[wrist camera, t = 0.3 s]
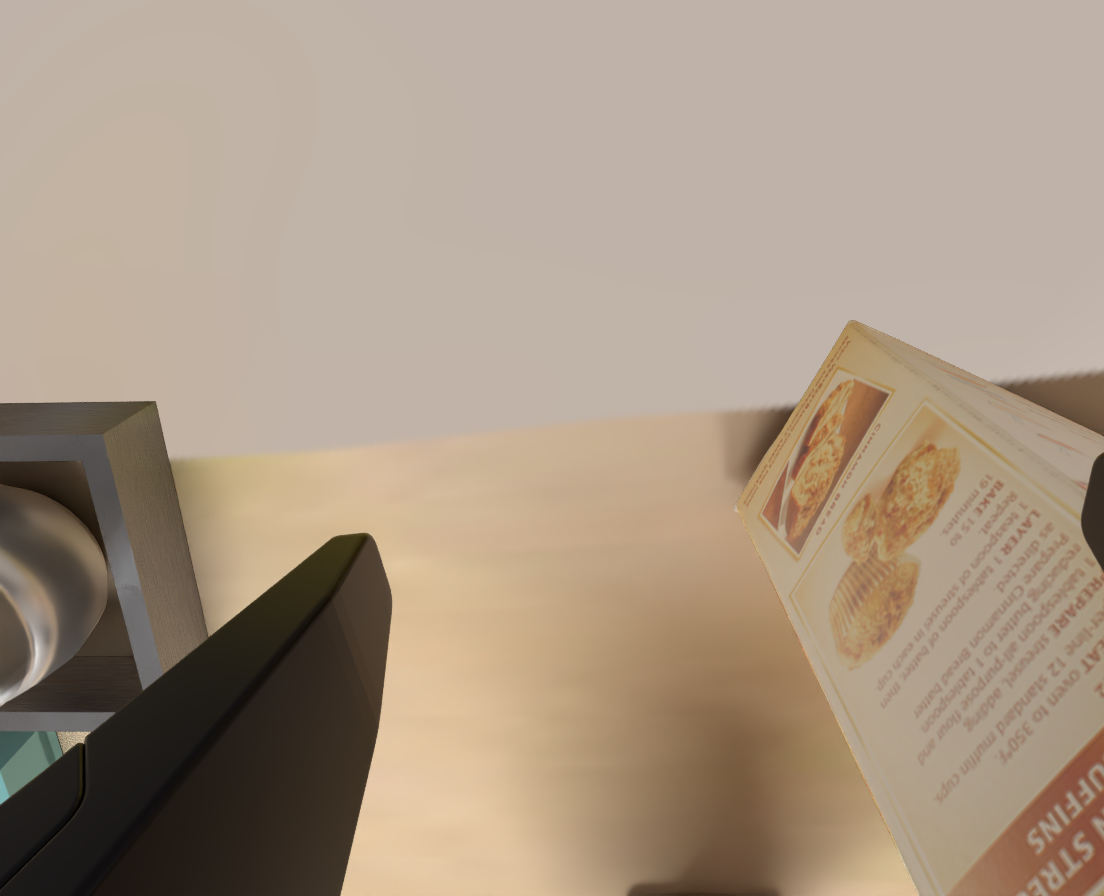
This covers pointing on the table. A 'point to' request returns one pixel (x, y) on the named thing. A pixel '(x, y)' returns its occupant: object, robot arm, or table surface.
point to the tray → (25, 758)
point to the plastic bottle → (44, 588)
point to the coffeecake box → (947, 611)
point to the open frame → (113, 555)
